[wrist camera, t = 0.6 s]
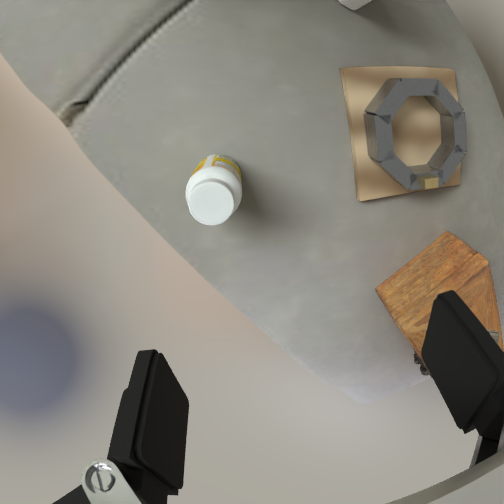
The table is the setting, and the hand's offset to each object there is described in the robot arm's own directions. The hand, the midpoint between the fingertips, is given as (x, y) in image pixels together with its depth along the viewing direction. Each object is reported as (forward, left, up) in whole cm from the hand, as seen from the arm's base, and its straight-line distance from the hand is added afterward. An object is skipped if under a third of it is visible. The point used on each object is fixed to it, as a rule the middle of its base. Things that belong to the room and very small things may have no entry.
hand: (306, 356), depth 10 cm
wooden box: (+30, +27, -28) cm, 50 cm away
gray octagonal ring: (-2, +20, -27) cm, 33 cm away
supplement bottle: (0, -4, -28) cm, 28 cm away
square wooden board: (-2, +20, -28) cm, 34 cm away
